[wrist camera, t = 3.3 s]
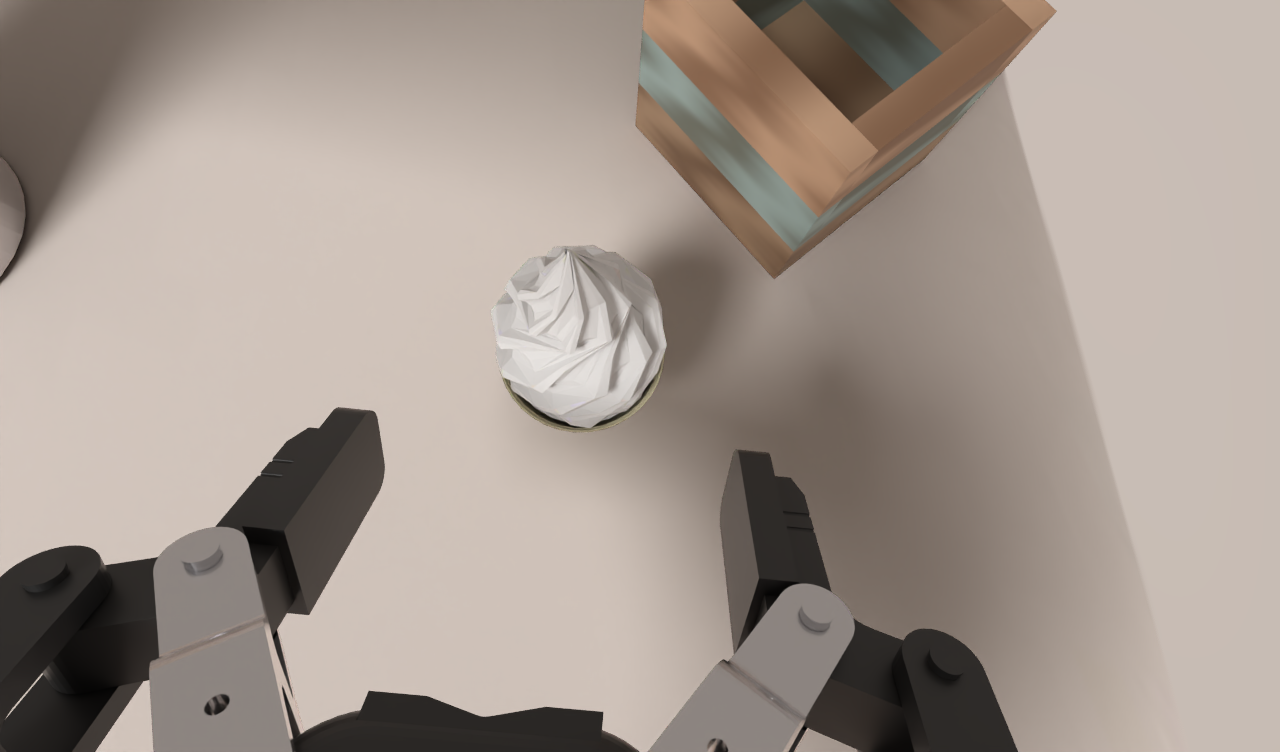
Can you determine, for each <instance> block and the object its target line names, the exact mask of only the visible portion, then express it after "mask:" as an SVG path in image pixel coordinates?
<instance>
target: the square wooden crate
mask: <svg viewBox="0 0 1280 752" xmlns="http://www.w3.org/2000/svg"><path fill="white" fill-rule="evenodd" d="M1055 13H1056V10H1055V9H1054V8H1053V7H1052V6H1050V5H1049V4H1048V3H1047V2H1046V1H1045V0H645V3H644V17H643V30H642V44H641V58H640V72H639V85H638V99H637V113H636V126H637V128H638V129H639V130H640V131H641V132H642V133H643V134H644V135H645V136H646V138H647V139H648V140H649V141H650V142H651V143H652V144H653V145H654V146H655V148H656V149H657V150H658V151H659V152H660V153H661V154H662V155H663V156H664V158H665V159H666V160H667V161H668V162H669V163H670V164H671V165H672V166H673V167H674V169H675V170H676V171H677V172H678V173H679V174H680V175H681V176H682V177H683V179H684V180H685V181H686V182H687V183H688V184H689V185H690V186H691V187H692V189H693V190H694V191H695V192H696V193H697V194H698V195H699V196H700V197H701V198H702V200H703V201H704V202H705V203H706V204H707V205H708V206H709V207H710V208H711V210H712V211H713V212H714V213H715V214H716V215H717V216H718V217H719V218H720V220H721V221H722V222H723V223H724V224H725V225H726V226H727V227H728V228H729V230H730V231H731V232H732V233H733V234H734V235H735V236H736V237H737V238H738V239H739V241H740V242H741V243H742V244H743V245H744V246H745V247H746V248H747V249H748V251H749V252H750V253H751V254H752V255H753V256H754V257H755V258H756V259H757V261H758V262H759V263H760V264H761V265H762V266H763V267H764V268H765V269H766V271H767V272H768V273H769V274H770V275H771V276H772V277H773V278H774V279H775V278H776V277H777V276H778V275H780V274H781V273H782V272H783V271H785V270H786V269H787V268H788V267H790V266H791V265H792V264H793V263H795V262H796V261H797V260H798V259H800V258H801V257H802V256H803V255H805V254H806V253H807V252H808V251H810V250H811V249H812V248H813V247H815V246H816V245H817V244H818V243H820V242H821V241H822V240H823V239H825V238H826V237H827V236H828V235H830V234H831V233H832V232H833V231H835V230H836V229H837V228H838V227H840V226H841V225H842V224H843V223H845V222H846V221H847V220H848V219H850V218H851V217H852V216H853V215H855V214H856V213H857V212H858V211H860V210H861V209H862V208H863V207H865V206H866V205H867V204H868V203H870V202H871V201H872V200H873V199H875V198H876V197H877V196H878V195H880V194H881V193H882V192H883V191H885V190H886V189H887V188H888V187H890V186H891V185H892V184H893V183H895V182H896V181H897V180H898V179H900V178H901V177H902V176H903V175H905V174H906V173H907V172H908V171H910V170H911V169H912V168H913V167H915V166H916V165H917V164H918V163H920V162H921V161H922V160H923V159H924V158H925V157H926V156H927V155H928V154H929V153H930V152H931V151H932V149H933V148H934V147H935V146H936V145H937V144H938V143H939V142H940V141H941V139H942V138H943V137H944V136H945V135H946V134H947V133H948V132H949V131H950V129H951V128H952V127H953V126H954V125H955V124H956V123H957V122H958V121H959V119H960V118H961V117H962V116H963V115H964V114H965V113H966V112H967V110H968V109H969V108H970V107H971V106H972V105H973V104H974V103H975V102H976V100H977V99H978V98H979V97H980V96H981V95H982V94H983V93H984V92H985V90H986V89H987V88H988V87H989V86H990V85H991V84H992V83H993V82H994V80H995V79H996V78H997V77H998V76H999V75H1000V74H1001V73H1002V72H1003V70H1004V69H1005V68H1006V67H1007V66H1008V65H1009V64H1010V63H1011V62H1012V60H1013V59H1014V58H1015V57H1016V56H1017V55H1018V54H1019V53H1020V51H1021V50H1022V49H1023V48H1024V47H1025V46H1026V45H1027V44H1028V43H1029V42H1030V40H1031V39H1032V38H1033V37H1034V36H1035V35H1036V34H1037V33H1038V32H1039V30H1040V29H1041V28H1042V27H1043V26H1044V25H1045V24H1046V23H1047V22H1048V20H1049V19H1050V18H1051V17H1052V16H1053V15H1054V14H1055Z"/></svg>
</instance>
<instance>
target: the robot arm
mask: <svg viewBox="0 0 1280 752" xmlns="http://www.w3.org/2000/svg"><path fill="white" fill-rule="evenodd" d="M25 216H26V213H25V202H24V194H23V191H22V189H21V186H20V183H19V180H18V178H17V176H16V175H15V173H14V172H13V171H12V169H11V168H10V166H9V165H8V164H7V162H6V161H5V160H4V159H2V158H1V157H0V276H1V275H2V274H3V272H4V271H5V269H6V268H7V266H8V265H9V263H10V261H11V260H12V258H13V257H14V255H15V253H16V250H17V248H18V245H19V243H20V240H21V238H22V235H23V228H24V222H25ZM384 471H385V464H384V457H383V451H382V444H381V438H380V431H379V425H378V419H377V416H376V413H375V412H374V411H370V410H360V409H351V408H341V407H338V408H336V409H334V410H333V411H332V413H331V414H330V415H329V416H328V418H327V419H326V420H325V421H324V423H323V424H322V425H321V427H320V428H307V429H306V430H304V431H303V432H301V433H300V434H298V435H296V436H295V437H293V438H292V439H290V440H288V441H287V442H286V443H285V444H284V446H283V447H282V448H281V449H280V450H279V451H278V453H277V454H276V455H275V456H274V457H273V461H272V462H269V463H268V465H267V466H266V467H265V468H264V469H263V471H262V472H261V476H258V477H257V478H256V479H255V480H254V481H253V482H252V484H251V485H250V486H249V487H248V488H247V490H246V491H245V492H244V493H243V494H242V496H241V497H240V498H239V499H238V500H237V502H236V503H235V504H234V505H233V506H232V508H231V509H230V510H229V511H228V512H227V514H226V515H225V516H224V517H223V518H222V519H221V521H220V522H219V523H218V524H217V525H216V527H212V528H206V529H202V530H198V531H196V532H193V533H190V534H188V535H186V536H184V537H182V538H180V539H178V540H177V541H175V542H174V543H172V544H171V545H170V546H168V547H167V548H166V549H165V550H164V551H163V552H162V553H161V554H160V556H159V557H156V558H151V559H144V560H137V561H131V562H124V563H117V564H110V565H104V563H103V561H102V559H101V557H100V555H99V554H98V553H97V552H96V551H95V550H93V549H92V548H89V547H85V546H64V547H59V548H54V549H50V550H47V551H44V552H41V553H39V554H36V555H34V556H32V557H29V558H27V559H25V560H24V561H22V562H20V563H18V564H17V565H15V566H14V567H12V568H11V569H9V570H8V571H7V572H6V573H5V574H3V575H2V576H1V577H0V752H95V751H96V750H97V748H98V747H99V745H100V744H101V742H102V741H103V739H104V738H105V736H106V735H107V734H108V732H109V731H110V729H111V728H112V726H113V725H114V723H115V722H116V720H117V719H118V717H119V716H120V715H121V713H122V712H123V710H124V709H125V707H126V706H127V704H128V703H129V701H130V700H131V699H132V697H133V696H134V694H135V693H136V691H137V690H138V688H139V687H140V685H141V684H142V682H143V681H147V680H150V698H151V715H152V732H153V749H154V752H639V751H638V750H637V749H635V748H634V747H632V746H631V745H630V744H628V743H627V742H626V741H624V740H622V739H620V738H618V737H617V736H615V735H613V734H610V733H608V732H605V731H603V730H602V722H603V712H597V711H586V710H574V709H563V708H552V707H543V708H537V709H531V710H525V711H519V712H513V713H507V714H501V715H496V716H490V717H481V716H477V715H475V714H472V713H469V712H467V711H464V710H462V709H459V708H456V707H454V706H451V705H449V704H446V703H443V702H441V701H438V700H436V699H433V698H430V697H428V696H420V695H409V694H397V693H386V692H375V691H369V692H368V694H367V697H366V699H365V701H364V704H363V706H362V709H361V710H360V711H355V712H351V713H347V714H344V715H340V716H337V717H334V718H332V719H329V720H327V721H324V722H322V723H320V724H318V725H316V726H314V727H312V728H310V729H308V730H307V731H304V728H303V725H302V721H301V718H300V714H299V710H298V707H297V702H296V698H295V694H294V690H293V686H292V682H291V678H290V674H289V670H288V666H287V662H286V658H285V653H284V649H283V645H282V641H281V637H280V634H279V631H278V627H279V625H280V623H281V622H282V620H283V619H284V617H285V615H286V614H287V613H293V614H304V615H309V614H310V612H311V611H312V609H313V607H314V605H315V604H316V602H317V600H318V598H319V597H320V595H321V593H322V591H323V590H324V588H325V586H326V584H327V583H328V581H329V579H330V577H331V575H332V574H333V572H334V570H335V568H336V567H337V565H338V563H339V561H340V560H341V558H342V556H343V554H344V553H345V551H346V549H347V547H348V546H349V544H350V542H351V540H352V539H353V537H354V535H355V533H356V532H357V530H358V528H359V526H360V525H361V523H362V521H363V519H364V517H365V516H366V514H367V512H368V510H369V509H370V507H371V505H372V503H373V502H374V500H375V498H376V496H377V495H378V493H379V491H380V489H381V486H382V483H383V478H384ZM720 527H721V537H722V546H723V555H724V565H725V574H726V584H727V593H728V602H729V612H730V621H731V630H732V640H733V649H734V656H733V657H732V658H731V659H730V660H729V661H728V662H727V661H726V660H722V661H720V662H719V663H718V664H717V665H716V666H715V667H714V668H713V670H712V671H711V672H710V673H709V675H708V676H707V677H706V678H705V680H704V681H703V682H702V684H701V685H700V686H699V687H698V689H697V690H696V691H695V692H694V694H693V695H692V696H691V698H690V699H689V700H688V701H687V703H686V704H685V705H684V706H683V708H682V709H681V710H680V711H679V713H678V714H677V715H676V717H675V718H674V719H673V720H672V722H671V723H670V724H669V725H668V727H667V728H666V729H665V731H664V732H663V733H662V734H661V736H660V737H659V738H658V739H657V741H656V742H655V743H654V745H653V746H652V747H651V748H650V750H649V751H648V752H795V751H796V750H797V748H798V746H799V744H800V743H801V741H802V739H803V737H804V736H805V734H806V732H807V730H808V729H812V730H814V731H816V732H819V733H821V734H823V735H825V736H828V737H830V738H832V739H835V740H837V741H839V742H842V743H844V744H846V745H848V746H851V747H853V748H855V749H857V750H858V752H1018V750H1017V748H1016V746H1015V743H1014V741H1013V738H1012V736H1011V733H1010V731H1009V729H1008V726H1007V724H1006V721H1005V719H1004V716H1003V714H1002V712H1001V709H1000V707H999V704H998V702H997V700H996V697H995V695H994V692H993V690H992V687H991V685H990V683H989V680H988V678H987V675H986V673H985V670H984V668H983V666H982V664H981V663H980V661H979V660H978V658H977V657H976V656H975V655H974V654H973V652H972V651H971V650H970V649H969V648H967V647H966V646H965V645H964V644H963V643H961V642H960V641H959V640H957V639H955V638H954V637H952V636H950V635H948V634H946V633H943V632H941V631H937V630H933V629H918V630H915V631H913V632H911V633H909V634H908V635H907V636H906V638H905V639H904V641H903V640H900V639H898V638H895V637H892V636H890V635H887V634H885V633H882V632H879V631H877V630H874V629H872V628H869V627H867V626H865V625H863V624H861V623H860V622H858V621H856V620H855V619H854V618H853V616H852V614H851V612H850V610H849V609H848V607H847V606H846V605H845V603H844V602H843V601H842V600H841V599H840V598H839V597H838V596H836V595H835V594H833V593H832V591H831V589H830V585H829V582H828V578H827V575H826V571H825V568H824V564H823V560H822V557H821V553H820V550H819V546H818V543H817V539H816V535H815V533H814V532H813V530H814V528H813V525H812V521H811V518H810V517H809V510H808V507H807V503H806V500H805V496H804V494H803V493H802V492H801V491H800V489H799V488H798V487H797V485H796V484H795V483H794V482H793V480H792V479H791V478H787V477H777V476H775V475H774V470H773V466H772V462H771V457H770V455H769V453H766V452H756V451H747V450H737V449H736V450H735V451H734V453H733V457H732V461H731V465H730V469H729V473H728V477H727V481H726V486H725V490H724V494H723V498H722V503H721V513H720ZM42 673H43V675H42V676H41V678H40V679H39V680H38V681H37V682H36V684H35V685H34V686H33V687H32V688H31V690H30V691H29V692H28V693H27V694H26V696H25V697H24V698H23V699H22V700H21V702H20V703H19V704H18V705H17V706H16V708H15V709H14V710H13V711H12V712H11V713H10V715H9V716H8V717H7V715H8V713H9V712H10V711H11V709H12V708H13V707H14V706H15V704H16V703H17V702H18V701H19V700H20V698H21V697H22V696H23V695H24V694H25V693H26V691H27V690H28V689H29V688H30V687H31V685H32V684H33V683H34V682H35V681H36V679H37V678H38V677H39V676H40V675H41V674H42ZM6 717H7V718H6Z"/></svg>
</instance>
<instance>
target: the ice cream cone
mask: <svg viewBox="0 0 1280 752" xmlns="http://www.w3.org/2000/svg"><path fill="white" fill-rule="evenodd" d="M504 290H505V291H506V292H507V293H506V294H504V295H503V296H502V298H501V299H500V300H499V301H498V302H497V304H496V305H495V306H494V307H493V309H492V310H491V317H492V321H493V326H494V331H495V336H496V342H497V347H496V361H497V364H498V366H499V369H500V373H501V375H502V378H503V381H504V384H505V386H506V388H507V390H508V391H509V393H510V395H511V396H512V398H513V399H514V400H515V402H516V403H517V404H518V405H519V406H520V407H521V409H523V410H524V411H525V412H526V413H527V414H529V415H530V416H531V417H532V418H534V419H536V420H537V421H539V422H541V423H543V424H545V425H547V426H550V427H553V428H556V429H558V430H563V431H569V432H593V431H598V430H603V429H606V428H609V427H612V426H614V425H617V424H619V423H621V422H622V421H624V420H626V419H627V418H629V417H631V416H632V415H633V414H634V413H636V412H637V411H638V410H639V409H640V408H641V407H642V406H643V405H644V404H645V403H646V401H647V400H648V399H649V398H650V396H651V395H652V393H653V391H654V390H655V388H656V386H657V384H658V382H659V379H660V376H661V373H662V370H663V363H664V357H665V349H666V346H667V344H666V339H665V335H664V330H663V318H662V307H661V304H660V302H659V299H658V296H657V294H656V291H655V288H654V286H653V283H652V280H651V279H650V278H649V277H648V276H646V275H645V274H644V273H642V272H641V271H640V270H638V269H637V268H636V267H634V266H633V265H632V264H630V263H629V262H628V261H626V260H625V259H624V258H622V257H621V256H620V255H619V254H617V253H616V252H605V251H604V250H602V249H600V248H598V247H596V246H594V245H593V246H565V247H553V248H552V249H551V250H550V251H549V252H548V254H547V256H546V257H534V258H529V259H528V260H527V262H526V263H525V264H524V265H523V266H522V267H521V268H520V269H519V270H518V271H517V272H516V273H515V274H514V275H513V277H512V278H511V279H510V280H509V282H508V283H507V285H506V287H505V288H504Z"/></svg>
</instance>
